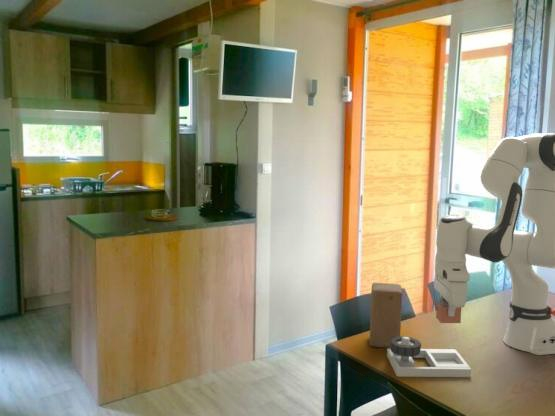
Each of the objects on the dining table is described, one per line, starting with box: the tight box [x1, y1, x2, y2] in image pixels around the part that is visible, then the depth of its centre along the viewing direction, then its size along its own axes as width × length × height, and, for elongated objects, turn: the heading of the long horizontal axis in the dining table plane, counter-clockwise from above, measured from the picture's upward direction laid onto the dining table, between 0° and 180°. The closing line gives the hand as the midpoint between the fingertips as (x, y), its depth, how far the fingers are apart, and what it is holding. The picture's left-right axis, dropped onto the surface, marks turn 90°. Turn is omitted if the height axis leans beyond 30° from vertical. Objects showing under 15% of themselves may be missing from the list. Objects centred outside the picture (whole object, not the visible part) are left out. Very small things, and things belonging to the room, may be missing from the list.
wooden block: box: [369, 282, 403, 349], centre depth 179 cm, size 10×10×20 cm
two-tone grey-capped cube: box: [435, 298, 462, 324], centre depth 161 cm, size 6×5×6 cm
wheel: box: [389, 335, 422, 357], centre depth 162 cm, size 9×9×3 cm
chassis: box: [386, 336, 472, 378], centre depth 162 cm, size 22×14×9 cm, turn 90°
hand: (447, 312), depth 161 cm, fingers closed on two-tone grey-capped cube, 5 cm apart
